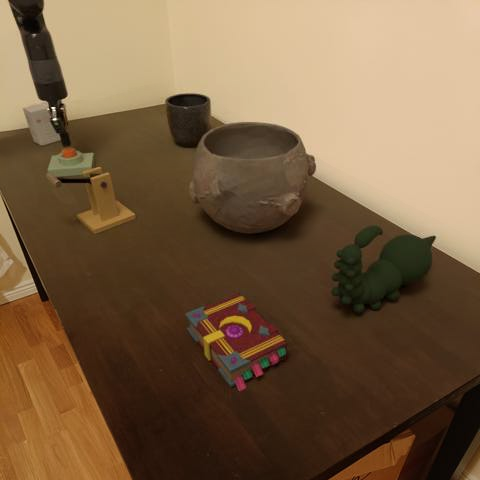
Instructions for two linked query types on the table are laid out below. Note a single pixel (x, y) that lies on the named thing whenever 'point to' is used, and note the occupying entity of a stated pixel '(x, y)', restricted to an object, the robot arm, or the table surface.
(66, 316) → the table surface
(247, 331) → the decorative book
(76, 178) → the switch lever
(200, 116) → the planter
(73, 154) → the button
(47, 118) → the small box
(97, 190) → the wooden lever stand
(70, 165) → the switch block
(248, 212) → the bowl
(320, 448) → the table surface
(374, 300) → the toy figurine
